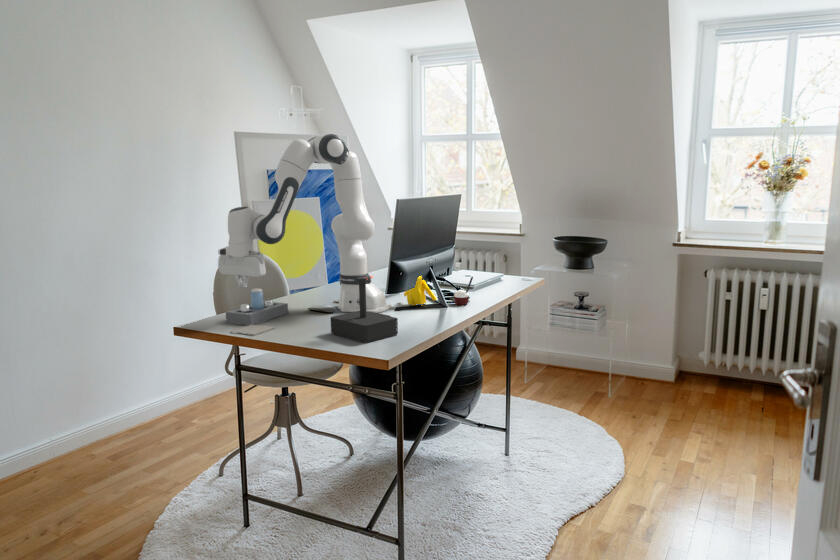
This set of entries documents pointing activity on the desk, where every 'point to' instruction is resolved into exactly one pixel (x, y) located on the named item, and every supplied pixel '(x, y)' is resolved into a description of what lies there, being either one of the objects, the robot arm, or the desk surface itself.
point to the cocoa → (462, 296)
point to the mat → (253, 329)
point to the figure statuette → (419, 293)
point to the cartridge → (257, 299)
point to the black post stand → (364, 321)
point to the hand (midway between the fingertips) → (242, 287)
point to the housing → (257, 314)
